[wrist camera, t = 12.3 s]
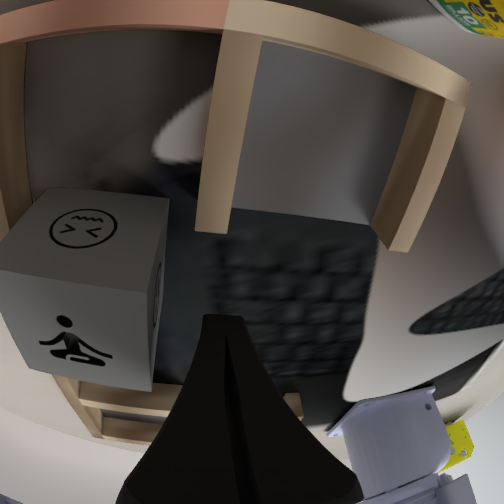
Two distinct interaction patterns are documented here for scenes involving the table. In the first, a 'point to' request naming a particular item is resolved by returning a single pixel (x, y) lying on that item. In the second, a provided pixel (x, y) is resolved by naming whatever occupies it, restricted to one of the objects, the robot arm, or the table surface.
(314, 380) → the table surface
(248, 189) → the light wood flat frame
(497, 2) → the supplement bottle
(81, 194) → the dice cube
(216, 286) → the table surface
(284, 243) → the table surface
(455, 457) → the yellow toy chassis
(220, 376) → the robot arm
